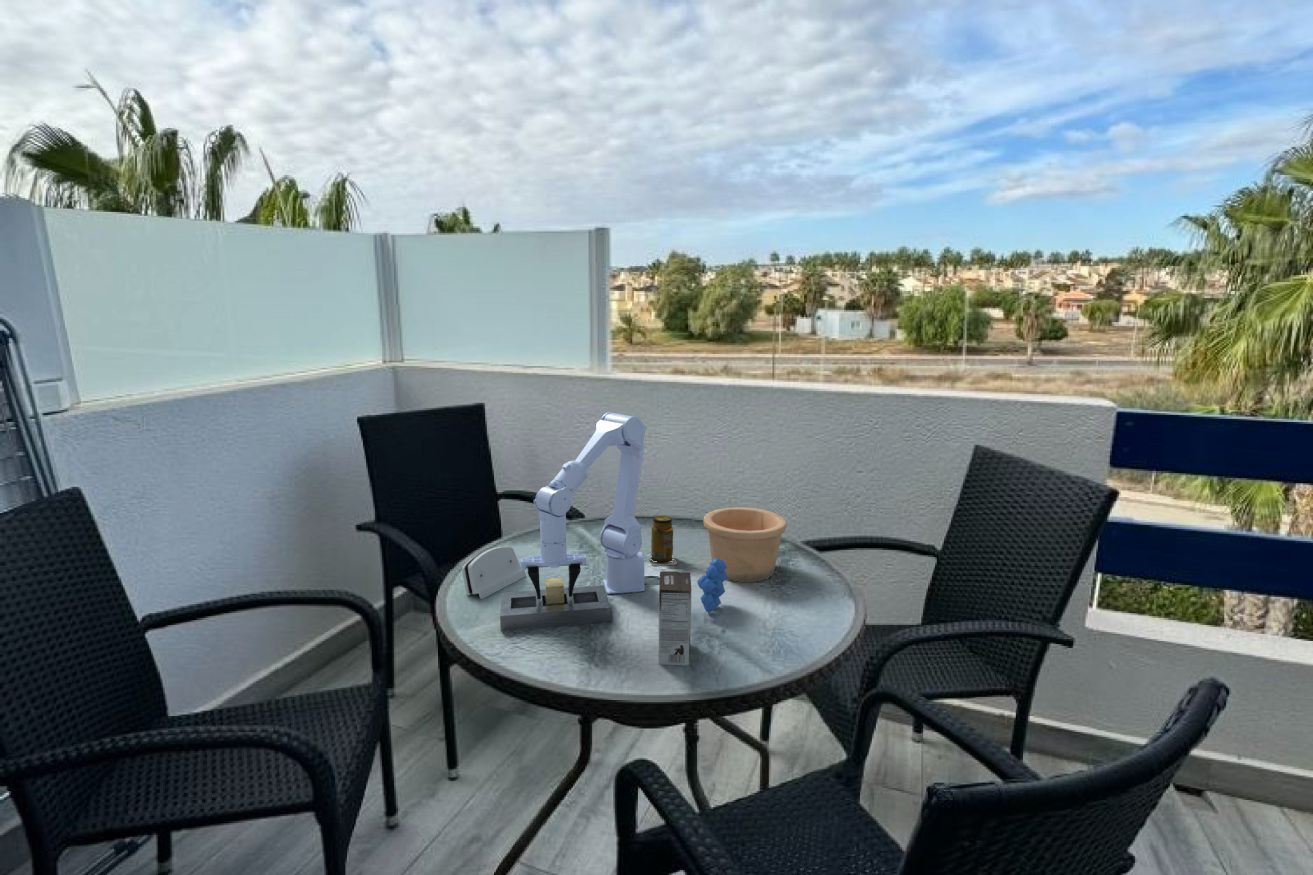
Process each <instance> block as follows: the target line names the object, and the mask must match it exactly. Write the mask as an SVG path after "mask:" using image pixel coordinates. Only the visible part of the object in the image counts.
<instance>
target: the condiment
mask: <svg viewBox="0 0 1313 875" xmlns="http://www.w3.org/2000/svg"><path fill="white" fill-rule="evenodd" d="M650 544H651V545H650V546H651V550H650V551H651V552H650V553H649V555H647V554H646V556H650V554H651V556H652V557H651V558H648V557H647V559H648V560H649V559H652V560H653V561H657V562H653V561H652V560H649V561H650V565H652V566H656V567H657V566H660V567H661V566H670V565H678V564H679V562H678V561H677V560H676V558H675V557H674V558H672V555H673V553H674V527H673V519H672V517H671V516H669V515H657V516H654V517H653V519H652V527H651V543H650ZM673 556H674V555H673ZM672 559H674V560H672ZM669 561H673V562H669ZM674 563H675V564H674ZM677 563H678V564H677Z"/></svg>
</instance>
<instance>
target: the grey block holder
mask: <svg viewBox="0 0 1313 875" xmlns="http://www.w3.org/2000/svg"><path fill="white" fill-rule="evenodd" d="M540 594H541V599H537V593H536V590H535V589H534V590H521V591H510V592H509V591H507V592H501V599H500V614H499V621H500V624H499V625H500V632H505V631H506V632H507V631H518V630H531V629H542V628H553V627H565V626H576V625H588V624H601V623H609V622H611V605H610V602H609V597H608V594H607V592H606V589H605V585H604V584H601V585H600V584H599V585H588V586H577V587H575V586H574V588H573V593H572V597H569V593H568V587H564V605H552V606H546V592H545V589H540Z"/></svg>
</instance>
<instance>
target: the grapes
mask: <svg viewBox="0 0 1313 875" xmlns="http://www.w3.org/2000/svg"><path fill="white" fill-rule="evenodd" d="M726 568H727V567H726V565H725V562H724V561H723V560H721V559H719V558H715V559H713V560H711V561H710V563H709V566H708V567H707V568H706V569H705V570H704V574H705V575H702V576H701V577H699V578H698V579H697V581H696V582H697V585H698V588H699V589H701V590H702V592H703V594H702V595H701V597H700V601H701V603H702V606H703V609H704V610H705V611H706V612H707V613H712V612H713V611H715V609H717V608H718V606H720V604H721V603H722V602H721V599H720V597H721V596H722V595H724V593H726V590H725V585H724V582H725V581H726V580H727V575H726V573H725V571H724V570H725V569H726Z"/></svg>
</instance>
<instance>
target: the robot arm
mask: <svg viewBox="0 0 1313 875" xmlns="http://www.w3.org/2000/svg"><path fill="white" fill-rule="evenodd" d="M595 425H596V430H595V432H594V433H593V435H592V436H591V437H590V439H589V440H588V441H587V443H586V444H585V446H584V447H583V449H582V450H581V452H580V453H579V454H578V456H577V457H576V459H575V460H574V459H573V460H569V461H567V462H565V463H564V464H563V465H562V466H561V470H559V472H558V473H557V474H556V476H555V477H554V478H553V479H552V480H551V481H550V482H549V484H548V485H547V486H546V485H545V487H544V486H543V487H541V488H539V490H538V491H537V493H536V495H535V499H533V505H534V507H535V509H537V511H538V517H539V528H540V529H539V530H540V532H539V533H540V537H539V538H540V555H536V556H532V557H525V558H520V567H521V570H527V575H528V577H529V578H530V580H531V582H532V585H533V586H534V590H536V593H537V599H541V594H540V590H541V585H540V568H551V569H553V568H555V569H556V568H560V567H564V566H565V567H567V566H568V587H567V588H568V593H569V597H572V593H573V588H574V587H575V584H576V581H577V579H578V578H579V575H580V574H581V570H582V568H581V566H582V567H583V566H584V567H585V566H587V555H586V554H577V553H576V554H575V553H574V554H573V553H567V552H568V551H567V517H566V516H567V513H568V512H569V511H570V509H571V507H572V503H573V499H574V496H575V494H576V492H577V491H578V490H579V488H580V487H581V486H582V485H583V484H584V482H585V481H586V479H588V476H589V475H588V469H590V467H591V466H592V465H593V464H594V463H595V462H596V461H597V460H598V458H599V457H600V456H601V455H602V454H603V453H604V452H605V451H606V450H607V449H608V448H609V447H611V446H613V447H614V446H616V448H618V450H619V451H620V460H619V464H618V465H619V467H618V471H617V472H618V473H617V481H616V487H615V495H614V504H613V508H612V509H613V510H612V514H611V515H610V516H608V517H607V518H605V519H604V524H603V527H602V529H601V531H600V534H599V542H600V545H601V546H602V548H604V552H605V553H606V556H605V557H606V564H605V565H606V568H605V569H606V579H603V585H604V587H605V591H606V594H607V595H611V594H624V593H637V592H645V590H646V589H645V557H644V553H643V552H642V551H640V550H641V548H642V546H643V538H642V526H641V524H640V522H638V520H637V518H636V516H635V514H636V507H637V502H638V493H639V488H640V487H639V486H640V480H641V472H642V468H643V467H642V465H643V459H644V452H645V450H644V449H645V441H644V440H645V434H646V425H645V423H644V422H643V421H642V419H641V418H640V417H638V416H636V415H632V416H631V415H627V414H621V413H615V412H613V411H608V412H606V413H604V414H603V415H602V416H601V418H600V419H599V420H598V421H597V422H596V424H595Z"/></svg>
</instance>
